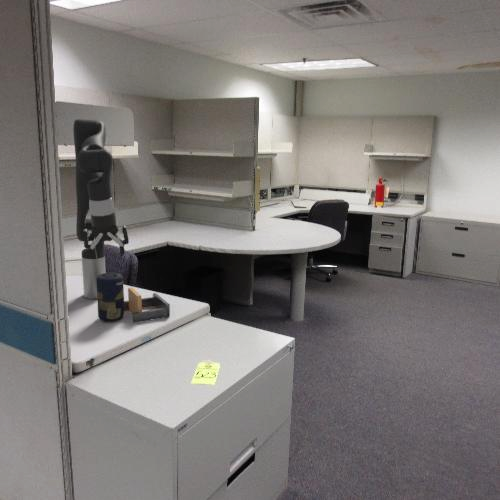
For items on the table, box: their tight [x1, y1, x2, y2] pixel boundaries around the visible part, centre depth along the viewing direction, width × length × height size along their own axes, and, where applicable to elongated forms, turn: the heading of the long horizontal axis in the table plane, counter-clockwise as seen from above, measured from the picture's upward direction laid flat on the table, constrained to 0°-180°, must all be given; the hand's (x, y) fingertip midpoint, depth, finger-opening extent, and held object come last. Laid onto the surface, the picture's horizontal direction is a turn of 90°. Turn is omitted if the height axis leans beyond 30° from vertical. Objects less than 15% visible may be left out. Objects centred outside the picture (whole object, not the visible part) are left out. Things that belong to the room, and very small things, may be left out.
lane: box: [124, 292, 171, 324], centre depth 185 cm, size 15×14×5 cm
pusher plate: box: [127, 286, 143, 313], centre depth 182 cm, size 12×2×9 cm, turn 30°
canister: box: [96, 272, 125, 323], centre depth 177 cm, size 10×10×18 cm
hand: (108, 256), depth 162 cm, fingers open, 8 cm apart
